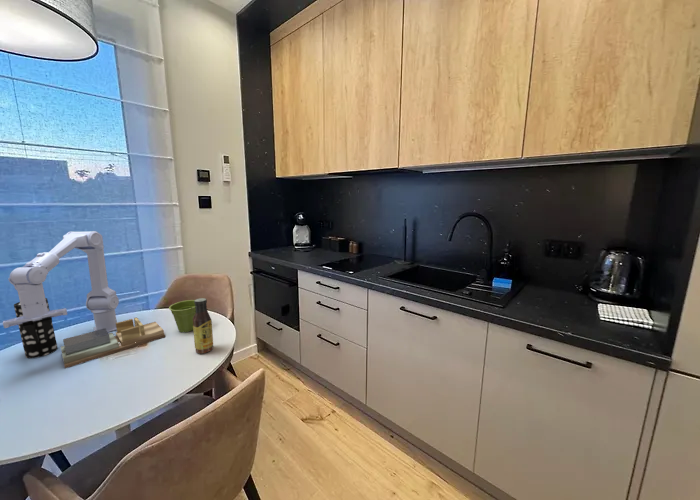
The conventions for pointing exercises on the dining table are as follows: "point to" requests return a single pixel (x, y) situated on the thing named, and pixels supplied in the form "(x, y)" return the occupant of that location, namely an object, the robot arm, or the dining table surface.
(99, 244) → the robot arm
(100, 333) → the metal block
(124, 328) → the tan piece
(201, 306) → the sauce bottle
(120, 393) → the dining table surface
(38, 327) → the white-spotted black cylinder
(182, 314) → the plant pot
